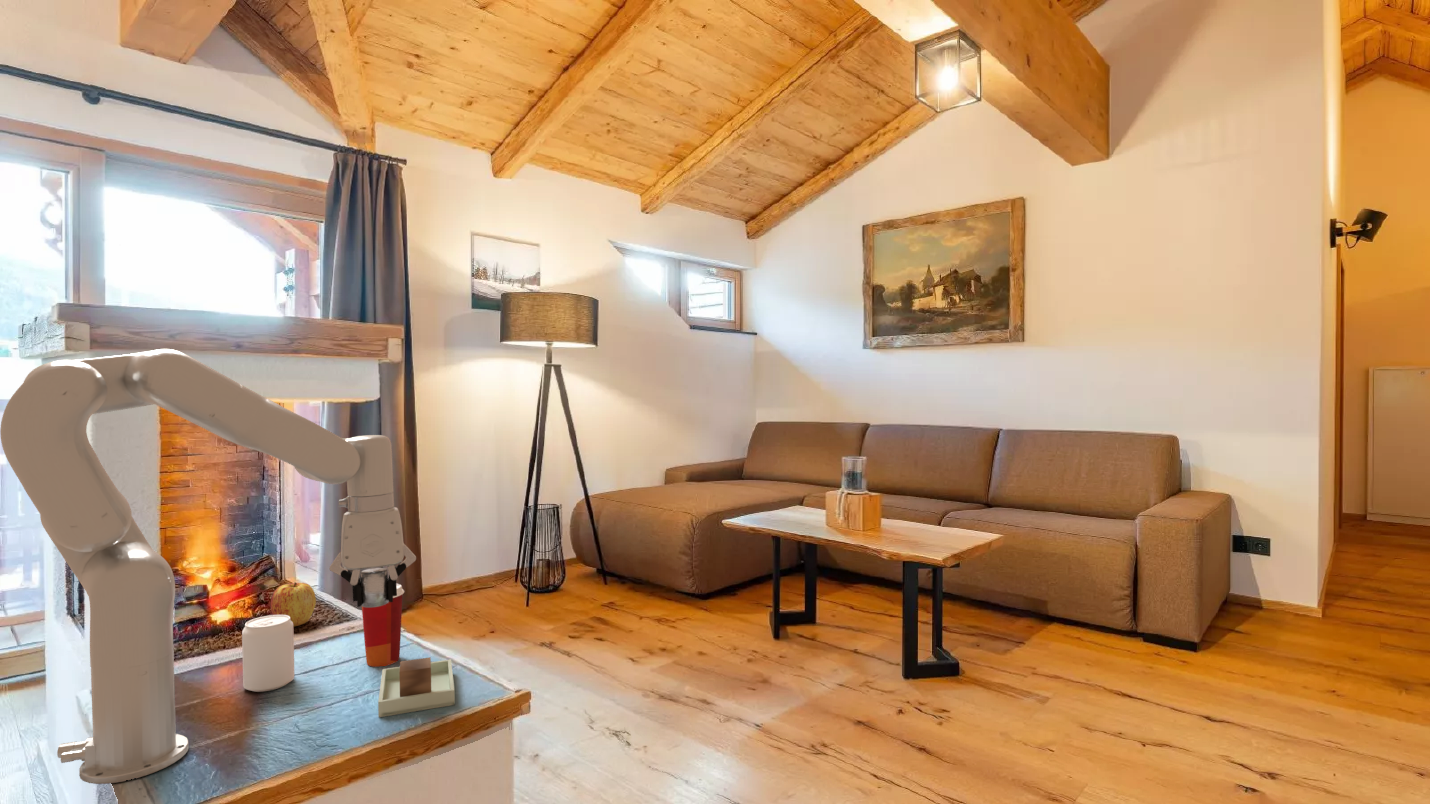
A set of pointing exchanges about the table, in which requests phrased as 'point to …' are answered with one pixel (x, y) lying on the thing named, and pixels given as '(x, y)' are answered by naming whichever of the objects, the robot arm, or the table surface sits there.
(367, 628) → the coffee cup
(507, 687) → the table surface
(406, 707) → the parts tray
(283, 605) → the apple
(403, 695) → the walnut block
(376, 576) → the metal cylinder
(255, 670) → the beverage can
